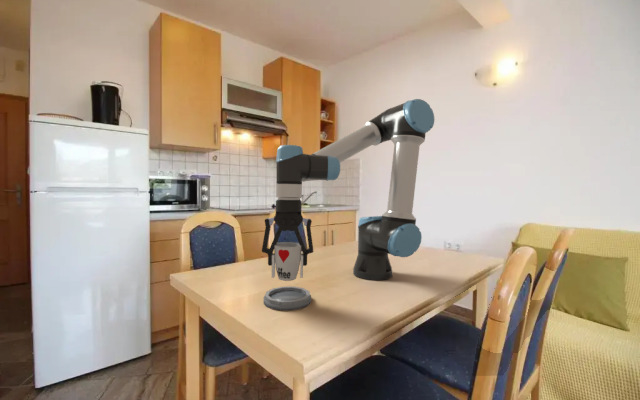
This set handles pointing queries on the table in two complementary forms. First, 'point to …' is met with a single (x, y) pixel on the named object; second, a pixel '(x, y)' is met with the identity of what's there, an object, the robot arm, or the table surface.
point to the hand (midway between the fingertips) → (287, 276)
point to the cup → (287, 260)
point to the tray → (287, 298)
